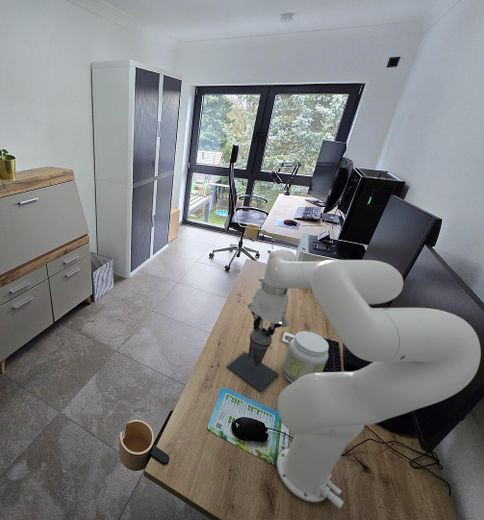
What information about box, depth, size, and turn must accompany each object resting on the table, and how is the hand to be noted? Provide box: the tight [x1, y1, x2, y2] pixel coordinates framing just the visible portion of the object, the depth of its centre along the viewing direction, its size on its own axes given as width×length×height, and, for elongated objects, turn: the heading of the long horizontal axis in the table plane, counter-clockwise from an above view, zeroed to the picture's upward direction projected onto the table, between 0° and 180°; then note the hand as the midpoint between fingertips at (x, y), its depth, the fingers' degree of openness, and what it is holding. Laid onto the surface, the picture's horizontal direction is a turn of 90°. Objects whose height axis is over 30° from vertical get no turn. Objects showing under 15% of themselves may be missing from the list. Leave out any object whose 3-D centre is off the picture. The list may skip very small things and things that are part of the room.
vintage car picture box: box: [281, 331, 296, 345], centre depth 121 cm, size 15×7×4 cm, turn 56°
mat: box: [226, 352, 279, 393], centre depth 109 cm, size 14×12×1 cm
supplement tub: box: [281, 330, 330, 383], centre depth 103 cm, size 12×12×17 cm
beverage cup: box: [247, 318, 273, 367], centre depth 102 cm, size 7×7×20 cm
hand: (262, 331), depth 100 cm, fingers closed on beverage cup, 4 cm apart
